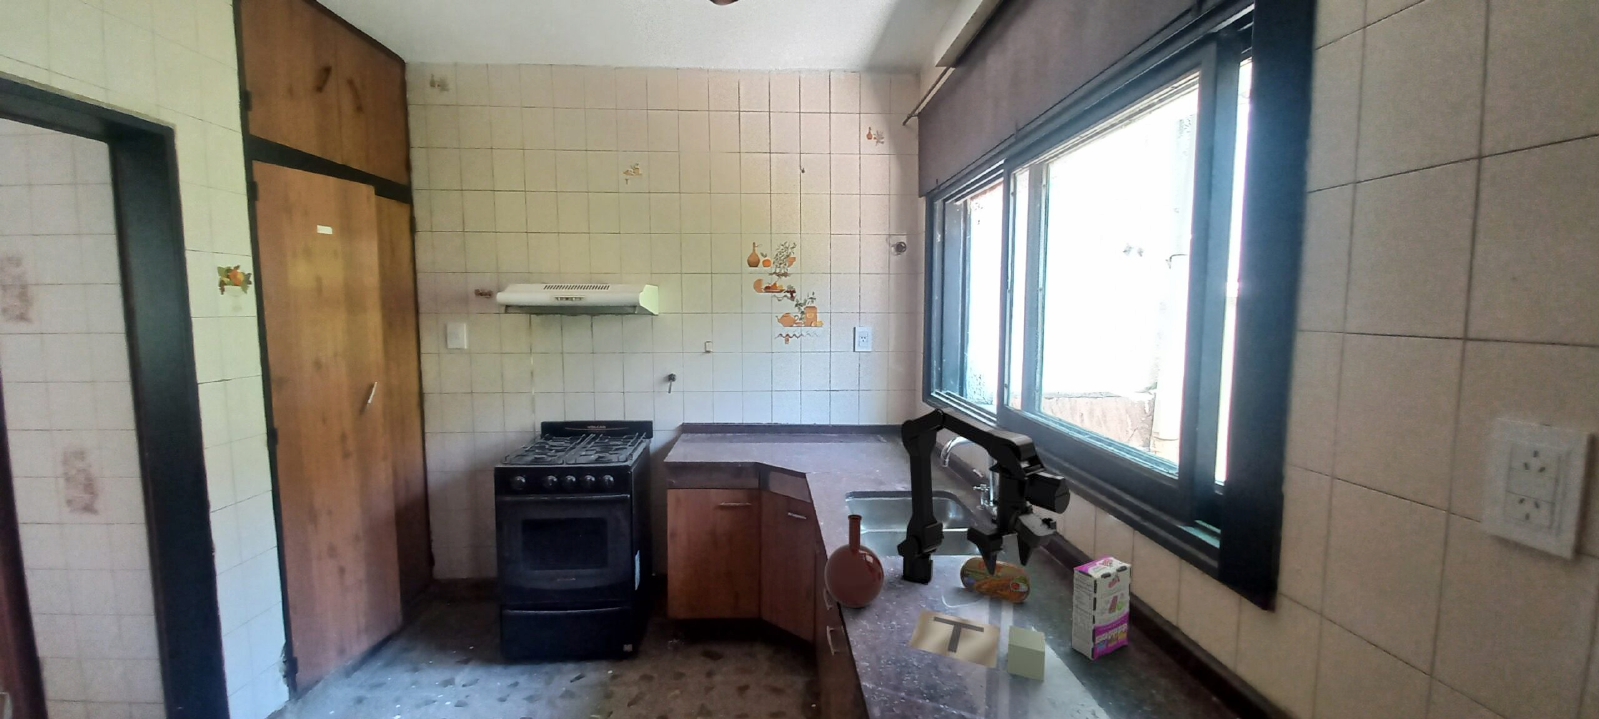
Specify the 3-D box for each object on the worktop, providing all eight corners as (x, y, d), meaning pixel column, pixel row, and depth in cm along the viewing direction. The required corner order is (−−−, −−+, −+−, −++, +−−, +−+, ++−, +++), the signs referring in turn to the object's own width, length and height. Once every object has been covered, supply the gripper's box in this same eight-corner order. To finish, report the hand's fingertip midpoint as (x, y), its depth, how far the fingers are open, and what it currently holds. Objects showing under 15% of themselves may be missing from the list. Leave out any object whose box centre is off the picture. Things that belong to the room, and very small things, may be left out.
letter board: (908, 648, 103) (908, 645, 103) (921, 610, 116) (922, 609, 116) (995, 670, 96) (995, 668, 96) (1000, 628, 109) (1000, 626, 109)
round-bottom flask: (845, 627, 110) (846, 533, 108) (813, 596, 121) (814, 512, 119) (895, 610, 116) (897, 522, 114) (861, 583, 127) (862, 502, 126)
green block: (1007, 674, 96) (1008, 643, 95) (1008, 655, 101) (1009, 625, 101) (1043, 684, 93) (1045, 651, 93) (1042, 663, 99) (1044, 632, 98)
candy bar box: (1103, 631, 109) (1108, 554, 107) (1128, 645, 104) (1133, 565, 103) (1068, 647, 103) (1072, 566, 102) (1092, 662, 99) (1097, 578, 97)
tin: (959, 591, 124) (960, 556, 123) (961, 585, 127) (962, 551, 126) (1028, 608, 117) (1030, 571, 116) (1030, 601, 120) (1031, 565, 119)
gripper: (1011, 519, 96) (1006, 600, 98) (1078, 503, 105) (1072, 578, 106) (966, 498, 106) (962, 572, 108) (1031, 485, 115) (1026, 554, 116)
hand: (1007, 569), depth 109 cm, fingers open, 9 cm apart
